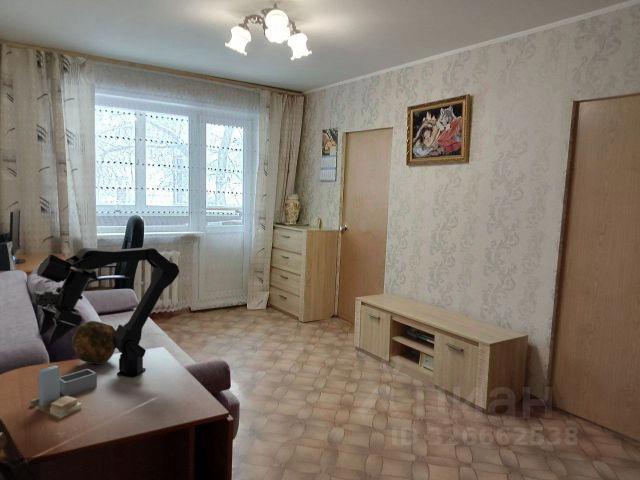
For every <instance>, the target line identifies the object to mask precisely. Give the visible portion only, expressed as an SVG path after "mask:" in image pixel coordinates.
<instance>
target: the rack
mask: <svg viewBox="0 0 640 480" xmlns="http://www.w3.org/2000/svg"><path fill="white" fill-rule="evenodd" d="M28 406H29V407H32V408H34V409H37V410H38V411H41V412H43V413H45V414H47V415H49V416H51V417H53V418H56V419H58V420H62V419H64V418H66V417H69V416H70V415H74V414H75V413H77V412H81V411H83V410H85V407H83V406H82V403H81V402H78V398H75V397H73V396H70V395H68V396H67V395H66V396H64V395H63V396H60V398H59V399H56V400H53V401H51V402H48V403H46V404H43V405H41V406H39V396H38V397H35V398H34V399H33V398H32V399H30V400H29V404H28Z"/></svg>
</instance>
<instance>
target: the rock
mask: <svg viewBox="0 0 640 480" xmlns="http://www.w3.org/2000/svg"><path fill="white" fill-rule="evenodd" d="M116 330H117V329H115V328H114V326H112V325H111V324H106V323H104V322H100V321H96V320H89V321H87V322H83V323H80V325H79V326H78V327H77V329H76V330H75V332H74V334H73V336H72V338H71V343H72V346H73V351H74V352H75V354H76V356H77V358H78V359H79V360H81V361H82V362H85V363H89V364H97V365H102V364H105V363H107V362H108V361H110V360H111V358H112V357H113V355H114V352H115V351H116V348H115V347H114V345H113V342H112V340H113V337H114V336H112V335H113V334H114V333H115V332H116Z"/></svg>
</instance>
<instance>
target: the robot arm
mask: <svg viewBox="0 0 640 480" xmlns="http://www.w3.org/2000/svg"><path fill="white" fill-rule="evenodd" d="M140 261H146V262H147V263H148V264H149V265H150V266H151V267H152V268H153V269H152V272H151V277H150V283H149V285H148V287H147V289H146V291H145V292H144V294H143V296H142V297H141V299H140V301H139V303H138V304H137V306H136V308H135V310H134V312H133V313H132V315H131V316H130V319H129V320H128V322H126V323H125V324H124V325H122V324H119V325H118V326H117V328H116V329H115V330H116V332H115V333H114V334H113V335H112V336H114V337H113V340H112V342H113V345H114V347H115V349H116V350H118V352H119V353H120V354H119V358H118V372H116V375H117V376H124V377H130V378H136V377H137V376H139V375H140V374H141V373H143V372H144V371H146V370H147V369H146V367H144V366H143V363H144V359H143V358H144V357H145V355H146V351H147V350H146V349H145V348H144V347H142V346H141V345H140V342H141V340H142V333H143V328H144V326H145V324H146V322H147V321H148V318H149V317H150V316H151V314H152V311H153V310H154V308H155V306H156V304H157V302H158V301H159V299H160V297H161V295H162V294H163V292H164V290H165V289H166V288H167V287H169V286H170V285H171V284H173V282H174V281H175V280H176V278H177V277H178V275H179V274H180V268H179V266H178V264H176V263H174V262H172V261H170V260H169V259H167V258H166V257H165V256H163V255H162V254H161V253H159V252H158V250H157V249H156V248H155V247H154V248H153V247H150V246H144V247H135V248H123V249H121V248H120V249H103V248H94V247H82V248H80V249H79V250H78V251H77V253H76V254H74V255H72V256H71V257H68V258H66V259H64V258H60V257H58V256H56V255H55V254H52V253H49V254H48V255H47V257H45V259H44V260H43V261H42V262H40V264H39V266H38V269H37V271H36V275H37V277H40V278H44V279H46V280H49V281H52V282H55V283H58V284H59V283H61V282H63V283H62V286H61V287H60V286H58V287H57V288H56V289H55V291H54V290H34V291H33V294H32V303H34V305H36V306H40V307H39V309H40V311H41V312H42V313H41V314H42V320H41V325H40V328H39V333H38V335H41V336H44V335H45V334H46V333H47V332H48V331H49V330H50V329H51V328H52V327H53V328H52V331H51V334H50V337H49V340H48V344H50V345H53V344H55V343H56V342H57V341H58V340H60V339H61V338H62V337H63V336H65V335H66V334H67V333H68V332H70V331H71V330H73V329H75V328H76V327H77V326H78V327H79V326H80V325H81V324H82V321H83V318H82V315H81V314H79V313H78V312H76V311H77V309H76V308H75V307H76V306H77V303H78V302H79V300H81V301H82V300H83V298H84V297H83V296H82V295H83V293H84V291H85V289H86V287H87V285H88V284H89V281H90V279H92V280H94V281H98V280H99V277H98V275H97V272H96V271H95V270H96V269H101V268H105V267H107V266H110V265H112V264H118V263H119V264H121V263H131V262H140ZM74 268H76V269H74Z"/></svg>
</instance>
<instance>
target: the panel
mask: <svg viewBox="0 0 640 480" xmlns="http://www.w3.org/2000/svg"><path fill="white" fill-rule="evenodd" d="M59 377H60V366H57V365H52V366H49V367H45V368H42V369H38V397H39V406H41V405H43V404H46V403H48V402H51V401H53V400H56V399H59V398H61V395H60V394H61V393H60V382H59Z"/></svg>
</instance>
